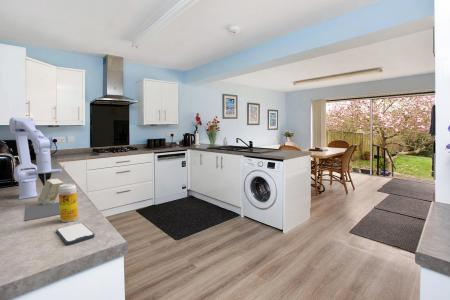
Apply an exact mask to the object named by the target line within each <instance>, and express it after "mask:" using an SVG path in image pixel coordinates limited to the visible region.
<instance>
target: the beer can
mask: <svg viewBox="0 0 450 300" xmlns="http://www.w3.org/2000/svg"><path fill="white" fill-rule="evenodd" d="M58 190H59V193H58V203H59V205H60V215H59V217H60V221H61V222H62V223H71V222H74V221H76V220H77V219H78V217H79V214H78V213H79V212H78V198H77V195H78V194H77V186H76V184H75V183H63V184H62V185H60V186H59V189H58Z"/></svg>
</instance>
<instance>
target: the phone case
mask: <svg viewBox="0 0 450 300" xmlns="http://www.w3.org/2000/svg"><path fill="white" fill-rule="evenodd" d="M55 231H56V233H57V235H58V236H59V238H60V239H61V240H62V242H63V243H64V244H65V245H66V246H72V245H75V244H78V243H81V242H85V241H87V240H91V239H94V238H95V236H96V235H95V233H94V232H93V230H91V229H90V228H88V227H87V226H86V225H85V224H84V223H82V222H80V223H75V224H71V225H67V226H64V227H59V228H57V229H56V230H55Z"/></svg>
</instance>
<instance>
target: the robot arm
mask: <svg viewBox="0 0 450 300" xmlns="http://www.w3.org/2000/svg"><path fill="white" fill-rule="evenodd" d="M8 122H9V123H8V124H9V125H8V126H9V130H10V133H11V134H12V135H14V136H15V142H16V148H17V153H18V162H19V164H18V165H17V166H15V167H14V169H13V178H14V180H15V181H16V182H18V189H19V191H18V192H19V196H18V199H19V200H23V199H29V198H36V197H39V194H38V192H37V182H36V181H37V180H38V179H39V180H40V181H41V183H42V185H43V187H44V185H45V183H46V181H47V180H50V179H51V177H52V174H58V173H60V174H62V173H63V169H62V168H52V159H51V149H52V147H53V142H52V139H51V138H50V137H46V136H45V135H44V134H43V132H42V131H41V130H39V129H36V120H35V119H34V118H33V117H29V118H27V117H26V118H24V117H10V119H9V121H8ZM28 139H29V140H30V141H31V142H32V146H33V149H34V150H33V151H34V154H35V158H36V164H34V163H32V162H31V161H32V160H31V155H30V149H29V141H28Z"/></svg>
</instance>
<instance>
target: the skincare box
mask: <svg viewBox="0 0 450 300" xmlns="http://www.w3.org/2000/svg"><path fill="white" fill-rule="evenodd" d="M63 184H64V181H62V180H60V179H59V178H57V177H56V178H50V180H47V181H46V180H45V185H44V186H43V188H42V190H41V192H40V194H39V195H38V198H37V202H38V203H40V204H41V205H47V204H53V203H55V201H56V198H57V197H58V196H59V190H58V189H59V186H60V185H63Z"/></svg>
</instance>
